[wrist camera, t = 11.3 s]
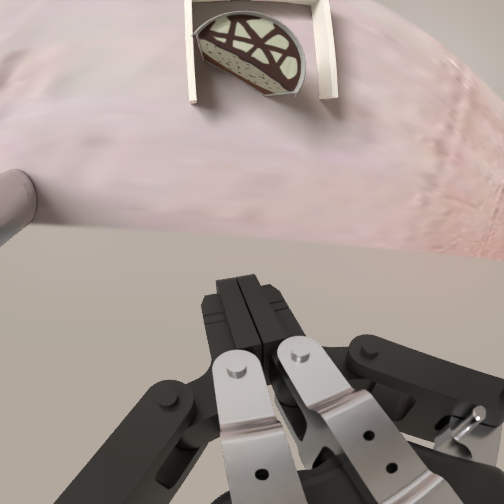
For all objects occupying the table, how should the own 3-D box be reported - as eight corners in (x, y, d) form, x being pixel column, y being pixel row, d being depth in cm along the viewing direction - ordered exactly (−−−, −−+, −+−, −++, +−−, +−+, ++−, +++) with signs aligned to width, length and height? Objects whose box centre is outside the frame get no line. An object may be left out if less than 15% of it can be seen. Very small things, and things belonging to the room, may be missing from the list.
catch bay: (190, 103, 30) (189, 101, 26) (185, -1, 23) (184, -14, 19) (324, 99, 32) (338, 97, 29) (315, 2, 25) (327, -8, 22)
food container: (299, 68, 30) (333, 53, 21) (274, 102, 32) (301, 96, 23) (219, 20, 25) (228, -13, 16) (192, 55, 27) (190, 29, 18)
